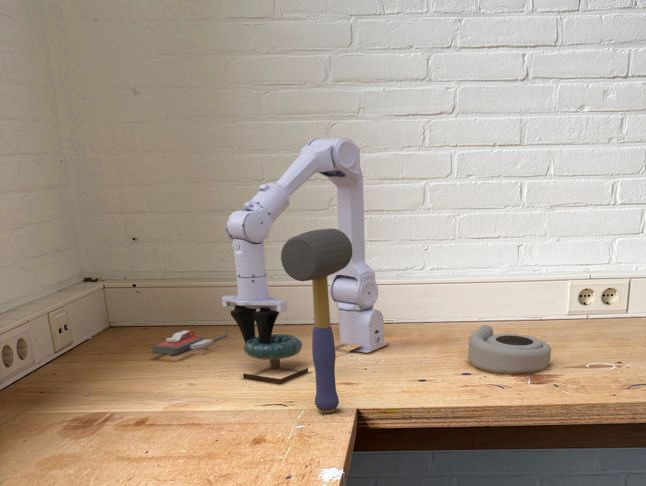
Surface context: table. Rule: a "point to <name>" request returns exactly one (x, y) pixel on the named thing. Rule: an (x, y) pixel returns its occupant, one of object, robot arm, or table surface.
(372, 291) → the robot arm
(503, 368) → the turbocharger housing
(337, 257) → the rubber mallet
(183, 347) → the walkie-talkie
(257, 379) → the post
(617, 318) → the table surface
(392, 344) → the table surface
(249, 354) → the hang ring
